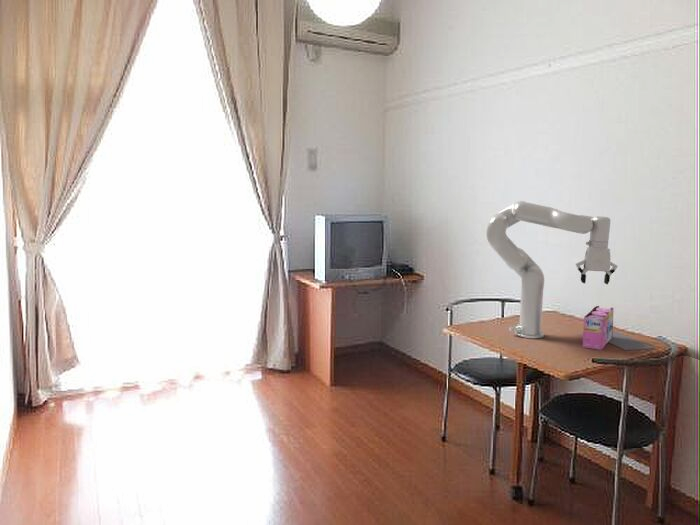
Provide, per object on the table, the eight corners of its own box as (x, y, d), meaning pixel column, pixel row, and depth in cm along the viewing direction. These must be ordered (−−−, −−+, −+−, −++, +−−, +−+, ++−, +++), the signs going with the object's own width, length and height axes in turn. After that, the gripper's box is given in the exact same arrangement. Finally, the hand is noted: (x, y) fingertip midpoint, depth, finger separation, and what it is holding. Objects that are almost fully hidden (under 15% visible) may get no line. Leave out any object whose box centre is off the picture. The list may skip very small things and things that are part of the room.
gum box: (595, 333, 254) (596, 305, 252) (613, 336, 249) (615, 307, 247) (582, 347, 235) (583, 316, 233) (601, 350, 230) (603, 319, 228)
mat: (625, 350, 231) (625, 349, 231) (591, 334, 254) (591, 333, 254) (654, 348, 233) (654, 347, 233) (618, 333, 256) (618, 332, 256)
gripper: (580, 245, 237) (577, 284, 239) (622, 246, 235) (618, 285, 238) (575, 243, 244) (572, 280, 247) (615, 244, 242) (611, 282, 245)
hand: (594, 283), depth 242 cm, fingers open, 9 cm apart
